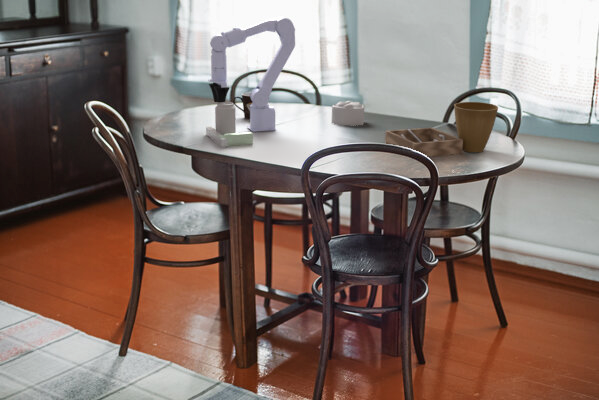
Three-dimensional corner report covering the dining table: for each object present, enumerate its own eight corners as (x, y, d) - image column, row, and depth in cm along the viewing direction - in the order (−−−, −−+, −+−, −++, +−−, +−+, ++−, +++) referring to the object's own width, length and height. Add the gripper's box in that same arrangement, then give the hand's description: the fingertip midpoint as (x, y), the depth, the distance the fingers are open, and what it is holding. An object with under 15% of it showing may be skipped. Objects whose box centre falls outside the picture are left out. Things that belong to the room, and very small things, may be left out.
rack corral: (430, 140, 281) (431, 127, 279) (461, 154, 262) (463, 139, 261) (384, 144, 274) (385, 130, 273) (413, 158, 256) (414, 143, 254)
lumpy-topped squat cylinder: (363, 126, 304) (364, 105, 301) (331, 125, 305) (331, 104, 302) (363, 121, 314) (364, 100, 311) (331, 120, 315) (332, 99, 312)
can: (227, 137, 281) (227, 105, 277) (211, 135, 285) (211, 103, 281) (239, 134, 287) (239, 102, 283) (223, 131, 291) (223, 100, 287)
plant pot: (446, 145, 274) (449, 101, 269) (486, 145, 275) (490, 101, 270) (456, 155, 260) (460, 109, 255) (499, 155, 261) (503, 109, 256)
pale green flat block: (236, 132, 289) (236, 122, 288) (254, 145, 270) (254, 134, 269) (206, 134, 285) (206, 124, 284) (221, 147, 266) (221, 136, 265)
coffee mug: (266, 117, 318) (266, 94, 315) (254, 121, 311) (254, 96, 308) (244, 114, 323) (244, 91, 320) (231, 117, 316) (231, 93, 313)
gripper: (203, 65, 291) (204, 100, 295) (213, 70, 278) (214, 107, 282) (221, 65, 293) (222, 99, 297) (232, 70, 280) (232, 106, 284)
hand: (219, 103), depth 290 cm, fingers open, 6 cm apart
